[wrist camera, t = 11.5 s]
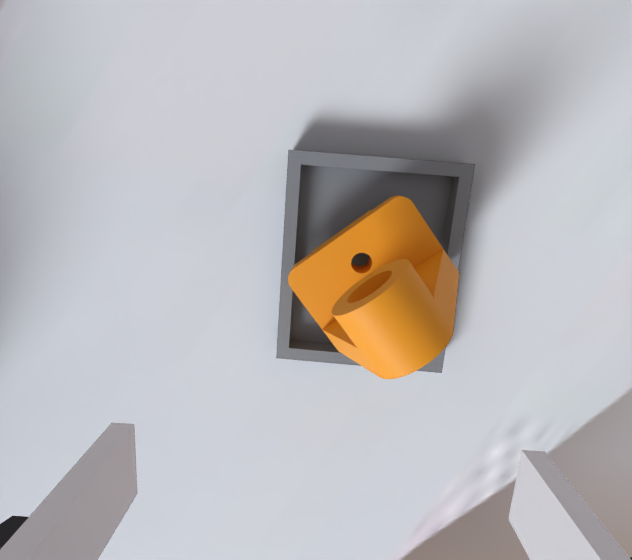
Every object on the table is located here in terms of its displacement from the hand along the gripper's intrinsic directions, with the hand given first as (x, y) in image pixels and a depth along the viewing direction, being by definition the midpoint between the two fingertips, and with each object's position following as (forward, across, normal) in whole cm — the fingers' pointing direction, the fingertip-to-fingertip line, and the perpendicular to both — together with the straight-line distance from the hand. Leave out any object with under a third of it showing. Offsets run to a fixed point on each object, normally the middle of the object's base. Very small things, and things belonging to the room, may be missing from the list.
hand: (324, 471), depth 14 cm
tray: (+23, +3, +3) cm, 24 cm away
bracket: (+21, +3, +3) cm, 21 cm away
